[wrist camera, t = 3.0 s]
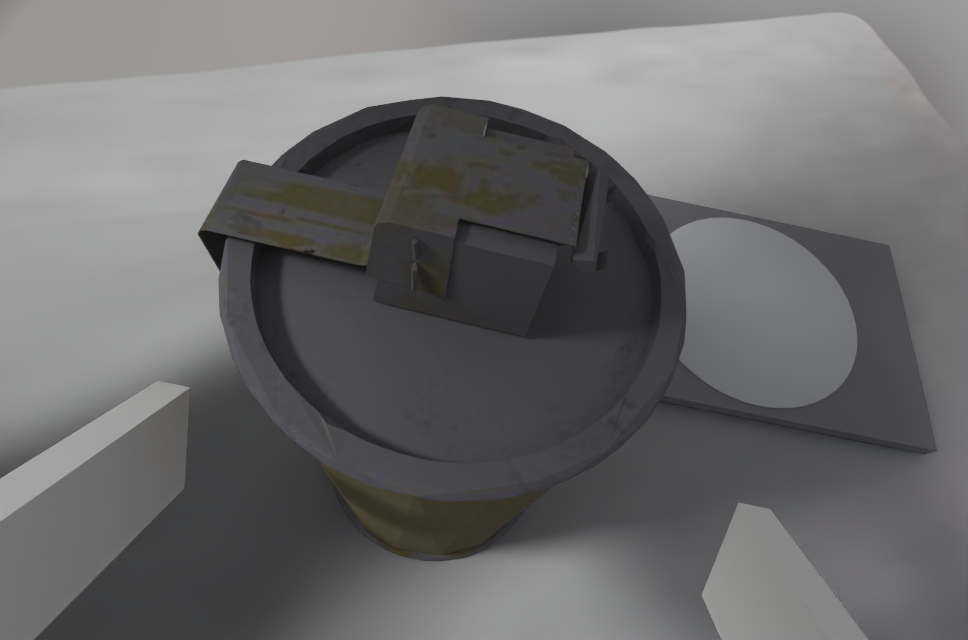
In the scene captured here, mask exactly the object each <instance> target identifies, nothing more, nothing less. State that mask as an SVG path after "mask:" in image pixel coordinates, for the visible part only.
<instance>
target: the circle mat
mask: <svg viewBox="0 0 968 640" xmlns="http://www.w3.org/2000/svg"><path fill="white" fill-rule="evenodd" d="M648 197H649V198H650V199H651V200H652V202H653V203H654V204H655V206H656V208H657V209H658V211H659V212H660V214H661V215H662V217H663V219H664V221H665V224H666V226H667V228H668V231H669V233H670V236H671V238H672V241H673V243H674V246H675V248H676V251H677V253H678V256H679V258H680V261H681V264H682V266H683V269H684V271H685V290H686V330H685V341H684V346H683V349H682V351H681V354H680V357H679V360H678V363H677V366H676V369H675V372H674V375H673V378H672V381H671V384H670V386H669V387H668V389H667V390H666V392H665V393H664V395H663V397H662V398H661V400H660V401H663V402H668V403H673V404H678V405H683V406H688V407H693V408H698V409H703V410H708V411H713V412H718V413H723V414H728V415H733V416H738V417H743V418H748V419H753V420H758V421H763V422H768V423H773V424H777V425H782V426H787V427H792V428H797V429H802V430H807V431H812V432H817V433H822V434H827V435H832V436H837V437H842V438H847V439H852V440H857V441H862V442H867V443H872V444H877V445H882V446H887V447H892V448H897V449H902V450H907V451H912V452H917V453H922V454H927V453H930V452H933V451H937V450H936V446H935V441H934V437H933V433H932V428H931V424H930V420H929V415H928V411H927V407H926V403H925V398H924V394H923V390H922V385H921V381H920V377H919V372H918V368H917V364H916V359H915V355H914V351H913V346H912V342H911V338H910V333H909V329H908V325H907V321H906V316H905V312H904V308H903V303H902V299H901V295H900V290H899V286H898V282H897V277H896V273H895V269H894V264H893V260H892V256H891V251H890V247H889V245H885V244H880V243H875V242H870V241H865V240H861V239H856V238H851V237H846V236H842V235H837V234H832V233H827V232H822V231H818V230H813V229H808V228H803V227H799V226H794V225H789V224H784V223H779V222H775V221H770V220H765V219H760V218H756V217H751V216H746V215H741V214H736V213H732V212H727V211H722V210H717V209H713V208H708V207H703V206H698V205H693V204H689V203H684V202H679V201H674V200H670V199H665V198H660V197H655V196H650V195H648Z"/></svg>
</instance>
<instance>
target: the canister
mask: <svg viewBox="0 0 968 640" xmlns="http://www.w3.org/2000/svg"><path fill="white" fill-rule="evenodd" d="M198 235H199V237H200V239H201V240H202V242H203V244H204V245H205V247H206V249H207V250H208V252H209V254H210V255H211V257H212V259H213V261H214V262H215V264H216V266H217V267H218V269H219V271H220V274H219V305H220V317H221V320H222V324H223V327H224V331H225V334H226V337H227V341H228V344H229V348H230V351H231V355H232V358H233V360H234V362H235V364H236V366H237V368H238V370H239V372H240V374H241V376H242V378H243V380H244V382H245V384H246V386H247V388H248V389H249V391H250V392H251V393H252V395H253V396H254V397H255V399H256V400H257V401H258V403H259V404H260V405H261V407H262V408H263V409H264V411H265V412H266V413H267V415H268V416H269V417H270V419H271V420H272V421H273V422H274V423H275V424H276V425H277V426H278V427H279V428H280V429H282V430H283V431H284V432H285V433H286V434H287V435H288V436H289V437H290V438H291V439H292V440H293V441H294V442H295V443H296V444H298V445H299V446H300V447H302V448H303V449H305V450H306V451H307V452H309V453H310V454H312V455H313V456H314V457H315V458H316V460H317V461H318V462H319V464H320V465H321V467H322V468H323V470H324V471H325V472H326V474H327V475H328V477H329V478H330V480H331V481H332V482H333V484H334V487H335V490H336V494H337V497H338V499H339V501H340V503H341V505H342V506H343V508H344V510H345V512H346V514H347V515H348V517H349V518H350V519H351V521H352V522H353V523H354V524H355V526H356V527H357V528H358V529H359V530H360V531H361V532H362V533H363V534H364V535H365V536H366V537H368V538H369V539H370V540H372V541H373V542H374V543H375V544H377V545H379V546H381V547H382V548H384V549H386V550H388V551H390V552H392V553H395V554H397V555H400V556H403V557H407V558H413V559H418V560H424V561H443V560H450V559H457V558H461V557H464V556H467V555H469V554H472V553H474V552H477V551H479V550H481V549H483V548H484V547H486V546H488V545H490V544H492V543H493V542H495V541H496V540H497V539H498V538H499V537H501V536H502V535H503V534H504V533H506V532H507V531H508V530H509V529H510V528H511V526H512V525H513V524H514V523H515V522H516V521H517V519H518V518H519V517H520V515H521V514H522V512H523V511H524V509H525V508H526V507H527V506H529V505H530V504H531V503H532V502H534V501H535V500H536V499H537V498H538V497H540V496H541V495H542V494H543V493H544V492H546V491H547V490H548V489H549V488H550V487H552V486H554V485H556V484H558V483H560V482H563V481H565V480H567V479H569V478H571V477H573V476H575V475H578V474H580V473H582V472H584V471H586V470H588V469H590V468H592V467H594V466H595V465H597V464H598V463H599V462H601V461H602V460H604V459H605V458H606V457H608V456H609V455H610V454H612V453H613V452H615V451H616V450H617V449H619V448H620V447H621V446H622V445H623V444H624V443H625V442H626V441H627V440H628V439H629V438H630V437H631V436H632V435H633V434H634V433H635V432H636V431H637V430H638V429H639V428H640V427H641V426H642V425H643V424H644V423H645V422H646V421H647V420H648V418H649V417H650V415H651V413H652V412H653V410H654V409H655V407H656V406H657V404H658V403H659V401H660V400H661V398H662V397H663V395H664V393H665V392H666V390H667V389H668V387H669V386H670V384H671V381H672V378H673V375H674V372H675V369H676V366H677V363H678V360H679V357H680V354H681V351H682V349H683V346H684V341H685V330H686V290H685V271H684V269H683V266H682V264H681V261H680V258H679V256H678V253H677V251H676V248H675V246H674V243H673V241H672V238H671V236H670V233H669V231H668V228H667V226H666V224H665V221H664V219H663V217H662V215H661V214H660V212H659V211H658V209H657V208H656V206H655V204H654V203H653V202H652V200H651V199H650V198H649V197H648V195H647V194H646V193H645V191H644V190H643V189H642V188H641V186H640V185H639V184H638V183H637V181H636V180H635V179H634V178H633V177H632V176H631V175H630V174H629V173H628V172H627V171H626V170H625V169H624V168H623V167H622V166H621V165H620V164H619V163H618V162H617V161H615V160H614V159H613V158H612V157H611V156H610V155H608V154H607V153H606V152H605V151H603V150H602V149H600V148H599V147H597V146H595V145H594V144H592V143H591V142H589V141H588V140H586V139H584V138H583V137H581V136H580V135H578V134H577V133H575V132H573V131H572V130H570V129H569V128H567V127H565V126H563V125H561V124H558V123H556V122H553V121H551V120H548V119H546V118H543V117H541V116H538V115H536V114H533V113H531V112H528V111H526V110H523V109H519V108H515V107H511V106H507V105H504V104H500V103H496V102H492V101H485V100H474V99H463V98H451V97H434V98H425V99H416V100H408V101H402V102H396V103H390V104H384V105H378V106H372V107H366V108H364V109H362V110H360V111H358V112H355V113H353V114H351V115H349V116H347V117H345V118H342V119H340V120H338V121H336V122H334V123H332V124H329V125H327V126H325V127H323V128H321V129H318V130H316V131H314V132H313V133H311V134H310V135H308V136H307V137H306V138H304V139H303V140H302V141H300V142H299V143H297V144H296V145H295V146H293V147H292V148H291V149H289V150H288V151H287V152H285V153H284V154H283V155H282V156H281V157H280V158H279V159H278V160H277V161H276V162H275V163H274V164H273V165H272V166H269V165H264V164H260V163H255V162H251V161H246V160H242V161H240V162H238V164H237V165H236V167H235V169H234V171H233V172H232V174H231V176H230V178H229V180H228V181H227V183H226V185H225V187H224V188H223V190H222V192H221V194H220V195H219V197H218V199H217V201H216V202H215V204H214V206H213V208H212V209H211V211H210V213H209V215H208V216H207V218H206V220H205V222H204V223H203V225H202V227H201V229H200V230H199V232H198Z"/></svg>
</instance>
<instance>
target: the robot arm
mask: <svg viewBox="0 0 968 640" xmlns="http://www.w3.org/2000/svg"><path fill="white" fill-rule="evenodd" d="M189 401H190V387H186V386H181V385H176V384H171V383H167V382H162V381H156V382H155V383H153V384H152V385H150V386H148V387H147V388H145V389H143V390H142V391H140V392H139V393H137V394H135V395H134V396H132V397H131V398H129V399H127V400H126V401H124V402H123V403H121V404H119V405H118V406H116V407H115V408H113V409H111V410H110V411H108V412H106V413H105V414H103V415H102V416H100V417H98V418H97V419H95V420H94V421H92V422H90V423H89V424H87V425H86V426H84V427H82V428H81V429H79V430H77V431H76V432H74V433H73V434H71V435H69V436H68V437H66V438H65V439H63V440H61V441H60V442H58V443H57V444H55V445H53V446H52V447H50V448H49V449H47V450H45V451H44V452H42V453H40V454H39V455H37V456H36V457H34V458H32V459H31V460H29V461H28V462H26V463H24V464H23V465H21V466H20V467H18V468H16V469H15V470H13V471H11V472H10V473H8V474H7V475H5V476H3V477H2V478H0V640H34V639H35V638H36V637H37V636H38V635H39V634H40V633H41V632H42V631H43V630H44V629H45V628H46V627H47V626H48V625H49V624H50V623H51V622H52V621H53V620H54V619H55V618H56V617H57V616H58V615H59V614H60V613H61V612H62V611H63V610H64V609H65V608H66V607H67V606H68V605H69V604H70V603H71V602H72V601H73V600H74V599H75V598H76V597H77V596H78V595H79V594H80V593H81V592H82V591H83V590H84V589H85V588H86V587H87V586H88V585H89V584H90V583H91V582H92V581H93V580H94V579H95V578H96V577H97V576H98V575H99V574H100V573H101V572H102V571H103V570H104V569H105V568H106V567H107V566H108V565H109V564H110V563H111V562H112V561H113V560H114V559H115V558H116V557H117V556H118V555H119V554H120V553H121V552H122V551H123V550H124V549H125V548H126V547H127V546H128V545H129V544H130V543H131V542H132V541H133V540H134V539H135V538H136V537H137V536H138V535H139V534H140V533H141V532H142V531H143V530H144V528H145V527H146V526H147V525H148V524H149V523H150V522H151V521H152V520H153V519H154V518H155V517H156V516H157V515H158V514H159V513H160V512H161V511H162V510H163V509H164V508H165V507H166V506H167V505H168V504H169V503H170V502H171V501H172V500H173V499H174V498H175V497H176V496H177V495H178V494H179V493H180V492H181V491H182V490H183V489H184V488H185V471H186V453H187V436H188V419H189ZM702 597H703V600H704V602H705V604H706V606H707V609H708V611H709V613H710V615H711V618H712V620H713V622H714V624H715V627H716V629H717V631H718V633H719V636H720V638H721V640H868V638H867V637H866V636H865V634H864V633H863V632H862V630H861V629H860V628H859V626H858V625H857V624H856V622H855V621H854V620H853V618H852V617H851V616H850V614H849V613H848V612H847V610H846V609H845V608H844V606H843V605H842V604H841V602H840V601H839V600H838V598H837V597H836V596H835V595H834V593H833V592H832V591H831V589H830V588H829V587H828V585H827V584H826V583H825V581H824V580H823V579H822V577H821V576H820V575H819V573H818V572H817V571H816V569H815V568H814V567H813V565H812V564H811V563H810V561H809V560H808V559H807V557H806V556H805V555H804V553H803V552H802V551H801V549H800V548H799V547H798V545H797V544H796V543H795V541H794V540H793V539H792V537H791V536H790V535H789V533H788V532H787V531H786V530H785V528H784V527H783V526H782V524H781V523H780V522H779V520H778V519H777V518H776V516H775V515H774V514H773V512H772V511H771V510H770V509H768V508H763V507H758V506H753V505H749V504H744V503H738V505H737V508H736V510H735V513H734V515H733V518H732V520H731V523H730V525H729V528H728V530H727V533H726V535H725V538H724V540H723V543H722V545H721V548H720V550H719V553H718V555H717V558H716V560H715V563H714V565H713V568H712V570H711V573H710V575H709V578H708V580H707V583H706V585H705V588H704V590H703V593H702Z"/></svg>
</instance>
